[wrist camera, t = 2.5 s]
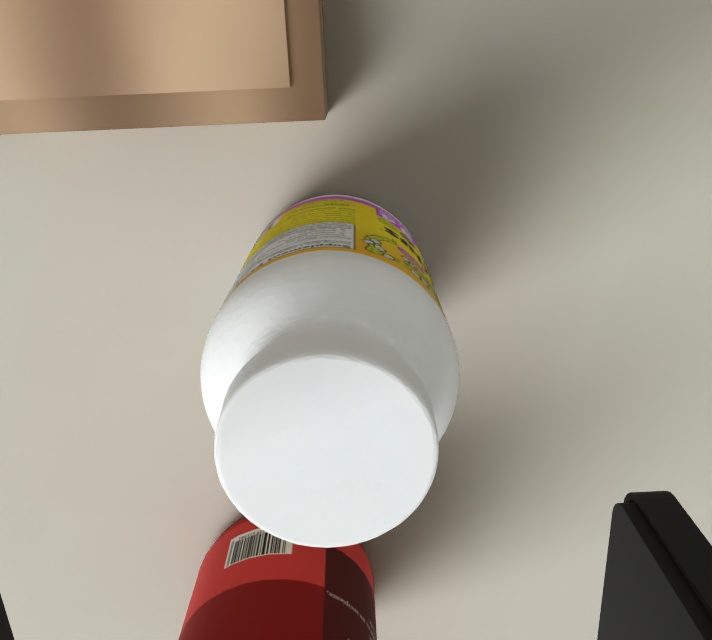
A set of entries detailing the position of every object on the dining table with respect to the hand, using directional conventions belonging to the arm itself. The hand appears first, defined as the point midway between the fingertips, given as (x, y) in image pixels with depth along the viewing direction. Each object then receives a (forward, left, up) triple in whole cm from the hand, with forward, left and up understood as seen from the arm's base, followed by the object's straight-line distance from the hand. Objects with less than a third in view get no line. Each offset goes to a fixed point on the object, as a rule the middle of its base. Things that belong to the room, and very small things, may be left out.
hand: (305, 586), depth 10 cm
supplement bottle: (0, 0, -17) cm, 17 cm away
